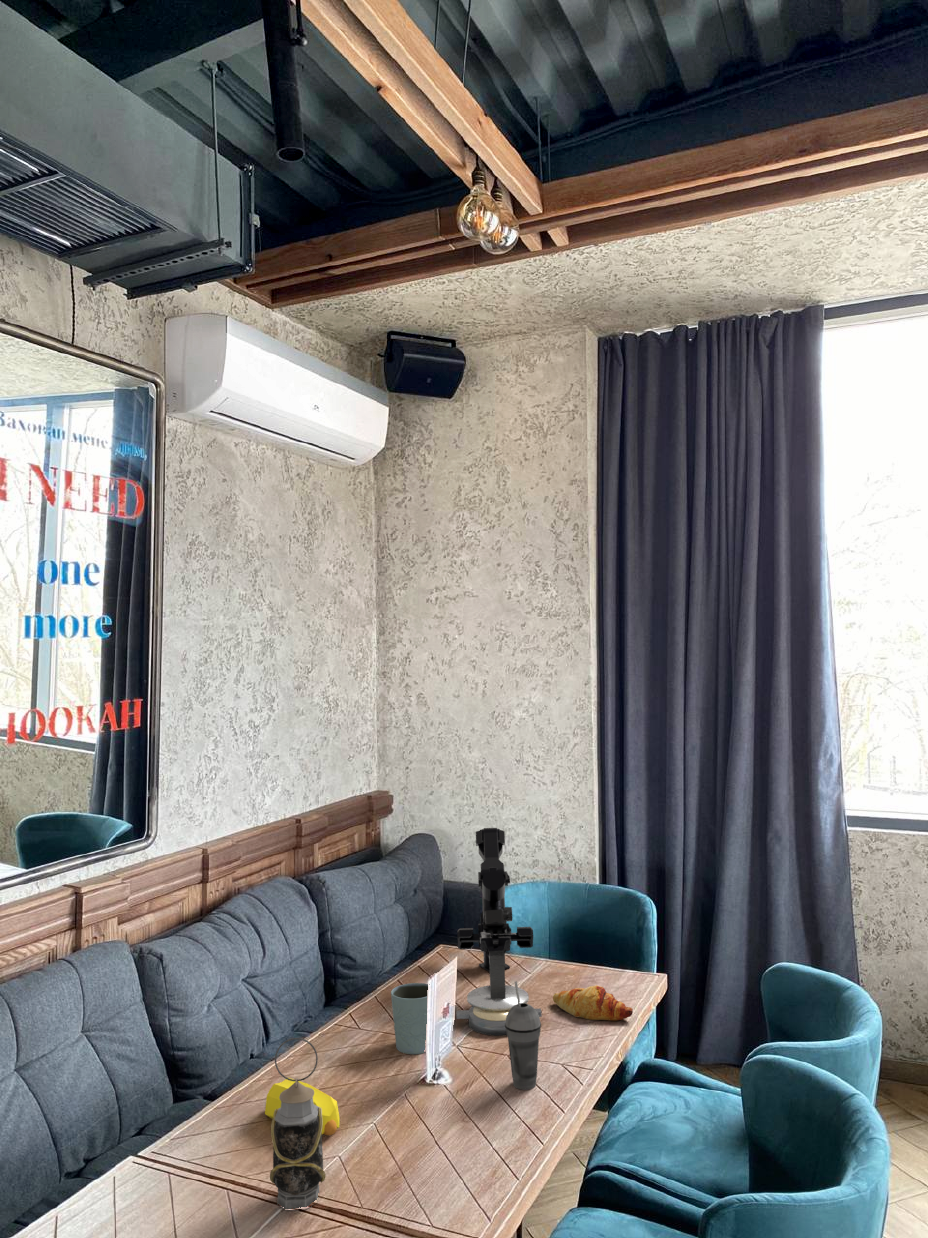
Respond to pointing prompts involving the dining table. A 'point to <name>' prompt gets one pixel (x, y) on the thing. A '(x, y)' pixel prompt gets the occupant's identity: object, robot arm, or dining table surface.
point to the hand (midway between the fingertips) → (496, 970)
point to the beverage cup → (523, 1043)
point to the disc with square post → (496, 988)
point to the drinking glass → (410, 1017)
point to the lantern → (297, 1144)
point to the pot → (487, 1020)
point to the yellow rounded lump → (319, 1099)
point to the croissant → (592, 1004)
